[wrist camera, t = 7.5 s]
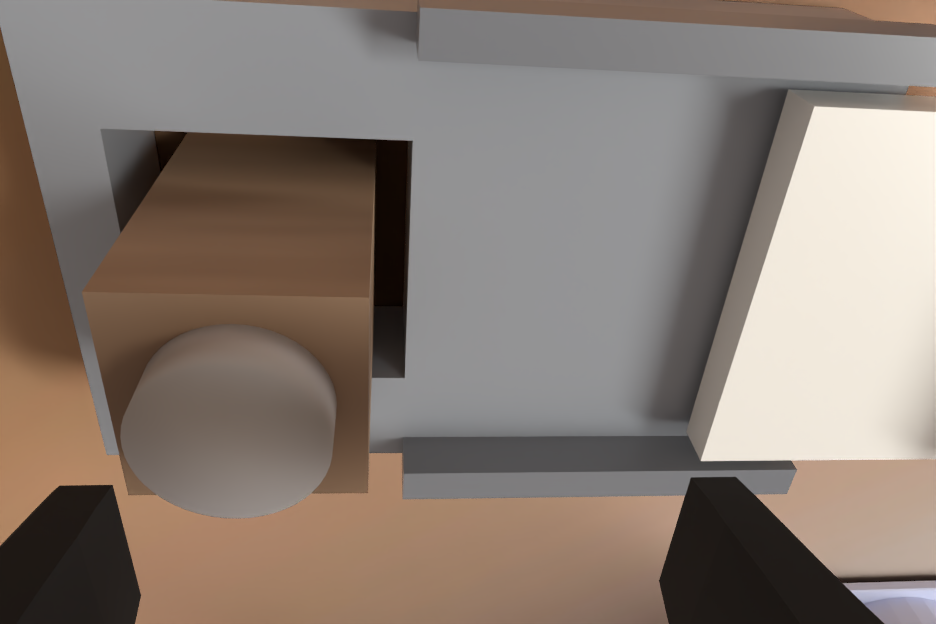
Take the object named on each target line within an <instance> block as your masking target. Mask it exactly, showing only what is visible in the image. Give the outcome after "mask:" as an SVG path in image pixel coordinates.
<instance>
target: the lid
mask: <svg viewBox="0 0 936 624" xmlns="http://www.w3.org/2000/svg"><path fill="white" fill-rule="evenodd" d="M686 432H687V434H688V436H689V438H690V440H691V442H692V444H693V447H694V449H695V451H696V453H697V455H698V457H699V459H700V461H774V460H889V459H936V97H935V96H915V95H895V94H874V93H854V92H834V91H813V90H793V89H788V92H787V96H786V99H785V102H784V106H783V109H782V112H781V116H780V119H779V123H778V126H777V129H776V133H775V136H774V139H773V143H772V146H771V149H770V153H769V156H768V159H767V163H766V166H765V169H764V173H763V176H762V180H761V183H760V186H759V190H758V193H757V196H756V200H755V203H754V206H753V210H752V213H751V216H750V220H749V223H748V226H747V230H746V233H745V236H744V240H743V243H742V247H741V250H740V253H739V257H738V260H737V263H736V267H735V270H734V273H733V277H732V280H731V283H730V287H729V290H728V293H727V297H726V300H725V304H724V307H723V310H722V314H721V317H720V320H719V324H718V327H717V330H716V334H715V337H714V340H713V344H712V347H711V350H710V354H709V357H708V360H707V364H706V367H705V371H704V374H703V377H702V381H701V384H700V387H699V391H698V394H697V397H696V401H695V404H694V407H693V411H692V414H691V417H690V421H689V424H688V428H687V431H686Z"/></svg>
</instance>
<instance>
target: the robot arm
mask: <svg viewBox="0 0 936 624" xmlns="http://www.w3.org/2000/svg"><path fill="white" fill-rule="evenodd" d="M659 582H660V587H661V591H662V595H663V600H664V604H665V609H666V613H667V618H668V622H669V624H936V580H933V581H898V582H862V583H842V582H841V581H840V580H839V579H838V578H837V577H836V576H835V575H834V574H833V573H832V572H831V571H830V570H828V569H827V568H826V567H825V566H824V565H823V564H822V563H821V562H820V561H819V560H818V559H817V558H816V557H815V556H814V555H813V554H812V553H811V552H810V551H809V550H808V549H807V548H806V546H805V545H804V544H803V543H802V542H801V541H800V540H799V539H798V538H797V537H796V536H795V535H794V534H793V533H792V532H791V531H790V530H789V529H788V528H787V527H786V526H785V525H784V524H783V523H782V522H781V521H780V520H779V519H778V518H777V517H776V516H775V515H774V514H773V513H772V512H771V511H770V510H769V509H768V508H767V507H766V506H765V505H764V504H763V503H762V502H761V501H760V500H759V499H758V498H757V497H756V496H755V495H754V494H753V493H752V492H751V491H750V490H749V489H748V488H747V487H746V486H745V485H744V484H743V483H742V482H741V481H740V480H739V479H738V478H737V477H691V479H690V482H689V485H688V488H687V492H686V495H685V498H684V501H683V505H682V508H681V511H680V515H679V518H678V521H677V524H676V528H675V531H674V534H673V537H672V541H671V544H670V547H669V550H668V554H667V557H666V560H665V564H664V567H663V570H662V573H661V577H660V580H659ZM140 597H141V594H140V590H139V586H138V582H137V578H136V574H135V571H134V567H133V563H132V559H131V555H130V551H129V547H128V543H127V539H126V536H125V532H124V528H123V524H122V520H121V516H120V512H119V508H118V504H117V501H116V497H115V493H114V489H113V485H82V486H59V487H58V488H56V489H55V490H54V491H53V492H52V493H51V494H50V495H49V496H48V497H47V498H46V499H45V500H44V501H43V502H42V503H41V504H40V505H39V506H38V507H37V508H36V509H35V510H34V511H33V512H32V513H31V514H30V515H29V517H28V518H27V519H26V520H25V521H24V522H23V523H22V524H21V525H20V526H19V527H18V528H17V529H16V530H15V531H14V532H13V533H12V534H11V535H10V536H9V537H8V538H7V540H6V541H5V542H4V543H3V544H2V545H1V546H0V624H135V620H136V616H137V611H138V607H139V602H140Z"/></svg>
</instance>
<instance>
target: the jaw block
mask: <svg viewBox="0 0 936 624" xmlns="http://www.w3.org/2000/svg"><path fill="white" fill-rule="evenodd" d="M376 147H377V139H355V138H329V137H304V136H278V135H252V134H226V133H201V132H188V133H187V134H186V136H185V137H184V139H183V140H182V142H181V143H180V145H179V146H178V148H177V149H176V151H175V152H174V154H173V155H172V157H171V158H170V160H169V161H168V163H167V164H166V166H165V167H164V169H163V170H162V172H161V173H160V175H159V176H158V178H157V179H156V181H155V182H154V184H153V185H152V187H151V189H150V190H149V192H148V193H147V195H146V196H145V198H144V199H143V201H142V202H141V204H140V205H139V207H138V208H137V210H136V211H135V213H134V214H133V216H132V217H131V219H130V220H129V222H128V223H127V225H126V226H125V228H124V229H123V231H122V232H121V234H120V235H119V237H118V238H117V240H116V241H115V243H114V244H113V246H112V247H111V249H110V250H109V252H108V253H107V255H106V256H105V258H104V259H103V261H102V262H101V264H100V265H99V267H98V268H97V270H96V271H95V273H94V274H93V276H92V277H91V279H90V280H89V282H88V283H87V285H86V286H85V288H84V289H83V291H82V295H83V300H84V304H85V308H86V313H87V317H88V321H89V326H90V330H91V334H92V339H93V343H94V347H95V352H96V356H97V360H98V365H99V369H100V373H101V378H102V382H103V386H104V391H105V395H106V399H107V404H108V408H109V413H110V417H111V421H112V426H113V430H114V434H115V439H116V443H117V447H118V452H119V456H120V460H121V465H122V469H123V473H124V478H125V482H126V486H127V491H128V495H158V496H159V497H161V498H162V499H164V500H166V501H168V502H170V503H172V504H174V505H176V506H178V507H181V508H183V509H185V510H188V511H191V512H195V513H198V514H202V515H207V516H212V517H220V518H252V517H259V516H264V515H268V514H272V513H276V512H279V511H281V510H284V509H287V508H289V507H291V506H293V505H295V504H297V503H298V502H300V501H301V500H303V499H305V498H306V497H307V496H308V495H310V494H311V493H368V471H369V442H370V413H371V385H372V356H373V327H374V298H375V232H376Z"/></svg>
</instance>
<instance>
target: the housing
mask: <svg viewBox="0 0 936 624" xmlns="http://www.w3.org/2000/svg"><path fill="white" fill-rule="evenodd" d="M0 28H1V32H2V36H3V40H4V44H5V48H6V52H7V56H8V60H9V64H10V68H11V72H12V76H13V80H14V84H15V88H16V92H17V96H18V100H19V104H20V108H21V112H22V116H23V120H24V124H25V128H26V132H27V136H28V140H29V144H30V148H31V152H32V156H33V160H34V164H35V168H36V172H37V176H38V180H39V184H40V188H41V192H42V196H43V200H44V204H45V208H46V212H47V217H48V221H49V225H50V229H51V233H52V237H53V241H54V245H55V249H56V253H57V257H58V261H59V265H60V269H61V273H62V277H63V281H64V285H65V289H66V293H67V297H68V301H69V305H70V309H71V313H72V317H73V321H74V325H75V329H76V333H77V337H78V341H79V345H80V349H81V353H82V357H83V361H84V365H85V369H86V373H87V377H88V381H89V385H90V389H91V393H92V397H93V401H94V405H95V409H96V413H97V417H98V422H99V426H100V430H101V434H102V438H103V442H104V446H105V450H106V454H107V455H119V452H118V447H117V443H116V439H115V434H114V430H113V426H112V421H111V417H110V413H109V408H108V404H107V399H106V395H105V391H104V386H103V382H102V378H101V373H100V369H99V365H98V360H97V356H96V352H95V347H94V343H93V339H92V334H91V330H90V326H89V321H88V317H87V313H86V308H85V304H84V300H83V295H82V291H83V289H84V288H85V286H86V285H87V283H88V282H89V280H90V279H91V277H92V276H93V274H94V273H95V271H96V270H97V268H98V267H99V265H100V264H101V262H102V261H103V259H104V258H105V256H106V255H107V253H108V252H109V250H110V249H111V247H112V246H113V244H114V243H115V241H116V240H117V238H118V237H119V235H120V234H121V232H122V231H123V229H124V228H125V226H126V225H127V223H128V222H129V220H130V219H131V217H132V216H133V214H134V213H135V211H136V210H137V208H138V207H139V205H140V204H141V202H142V201H143V199H144V198H145V196H146V195H147V193H148V192H149V190H150V189H151V187H152V185H153V184H154V182H155V181H156V179H157V178H158V176H159V175H160V166H159V160H158V154H157V147H156V141H155V134H154V131H175V132H201V133H226V134H252V135H278V136H304V137H329V138H355V139H381V140H407V141H408V152H407V186H406V219H405V253H404V286H403V306H374V327H373V356H372V385H371V413H370V442H369V453H402V491H403V499H458V498H530V497H602V496H674V495H686V492H687V488H688V485H689V482H690V479H691V477H737V478H738V479H739V480H740V481H741V482H742V483H743V484H744V485H745V486H746V487H747V488H748V489H749V490H750V491H751V492H752V493H753V494H787V492H788V490H789V487H790V485H791V483H792V480H793V478H794V475H795V473H796V471H797V469H796V468H795V466H794V464H793V463H792V461H791V460H774V461H700V459H699V457H698V455H697V453H696V451H695V449H694V447H693V444H692V442H691V440H690V438H689V436H688V434H687V432H686V431H687V428H688V424H689V421H690V417H691V414H692V411H693V407H694V404H695V401H696V397H697V394H698V391H699V387H700V384H701V381H702V377H703V374H704V371H705V367H706V364H707V360H708V357H709V354H710V350H711V347H712V344H713V340H714V337H715V334H716V330H717V327H718V324H719V320H720V317H721V314H722V310H723V307H724V304H725V300H726V297H727V293H728V290H729V287H730V283H731V280H732V277H733V273H734V270H735V267H736V263H737V260H738V257H739V253H740V250H741V247H742V243H743V240H744V236H745V233H746V230H747V226H748V223H749V220H750V216H751V213H752V210H753V206H754V203H755V200H756V196H757V193H758V190H759V186H760V183H761V180H762V176H763V173H764V169H765V166H766V163H767V159H768V156H769V153H770V149H771V146H772V143H773V139H774V136H775V133H776V129H777V126H778V123H779V119H780V116H781V112H782V109H783V106H784V102H785V99H786V96H787V92H788V89H793V90H813V91H834V92H854V93H874V94H895V95H906V92H907V89H908V87H909V86H925V87H936V25H933V24H921V23H905V22H888V21H874V20H871V19H869V18H866V17H864V16H861V15H859V14H856V13H854V12H851V11H849V10H846V9H844V8H833V7H816V6H800V5H784V4H768V3H752V2H736V1H720V0H0Z"/></svg>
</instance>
